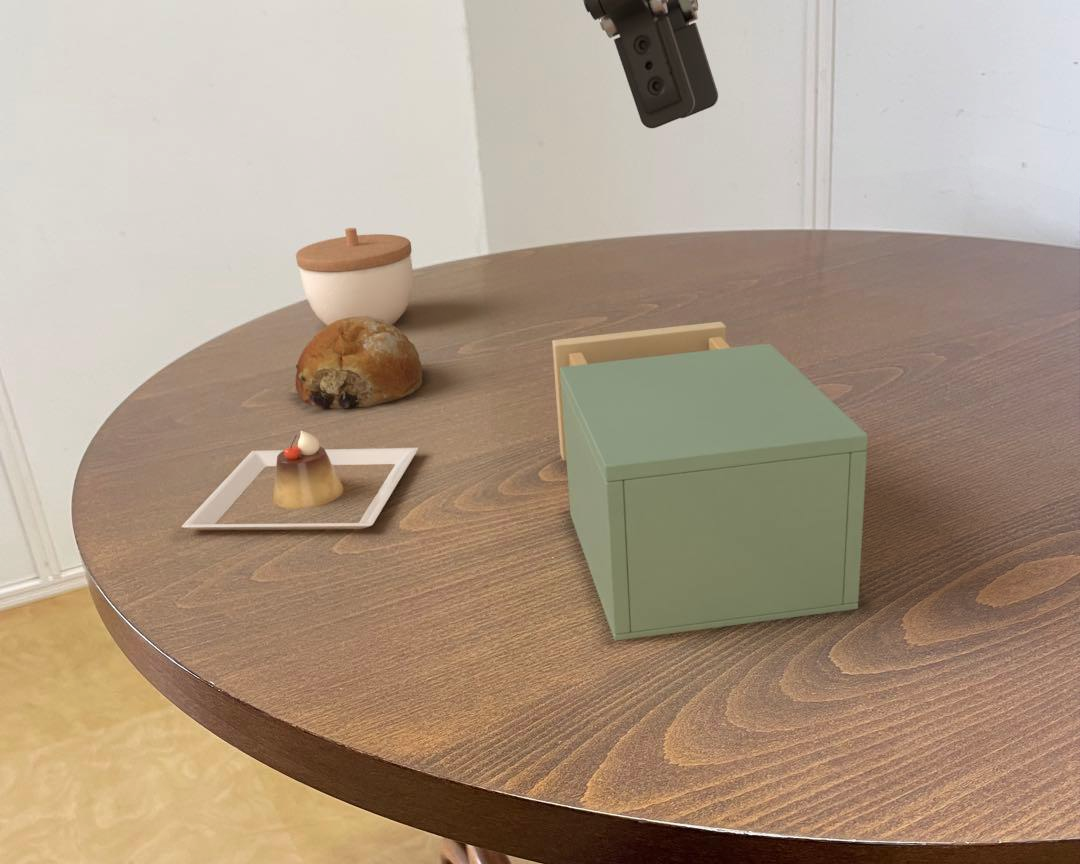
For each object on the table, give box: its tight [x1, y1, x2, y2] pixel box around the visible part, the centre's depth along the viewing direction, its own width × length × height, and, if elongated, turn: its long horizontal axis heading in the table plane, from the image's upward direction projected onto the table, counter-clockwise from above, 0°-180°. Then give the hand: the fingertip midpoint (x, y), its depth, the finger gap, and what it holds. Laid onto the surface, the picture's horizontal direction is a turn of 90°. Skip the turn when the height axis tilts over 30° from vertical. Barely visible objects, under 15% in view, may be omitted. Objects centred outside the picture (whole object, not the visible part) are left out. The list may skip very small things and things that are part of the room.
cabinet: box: [560, 342, 869, 641], centre depth 59 cm, size 15×12×10 cm
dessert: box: [181, 430, 419, 531], centre depth 72 cm, size 12×12×5 cm
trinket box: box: [295, 227, 414, 326], centre depth 107 cm, size 11×11×9 cm
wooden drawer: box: [551, 321, 732, 462], centre depth 69 cm, size 18×11×8 cm, turn 7°
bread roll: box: [295, 316, 423, 410], centre depth 90 cm, size 10×10×8 cm
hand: (685, 116), depth 49 cm, fingers open, 8 cm apart
